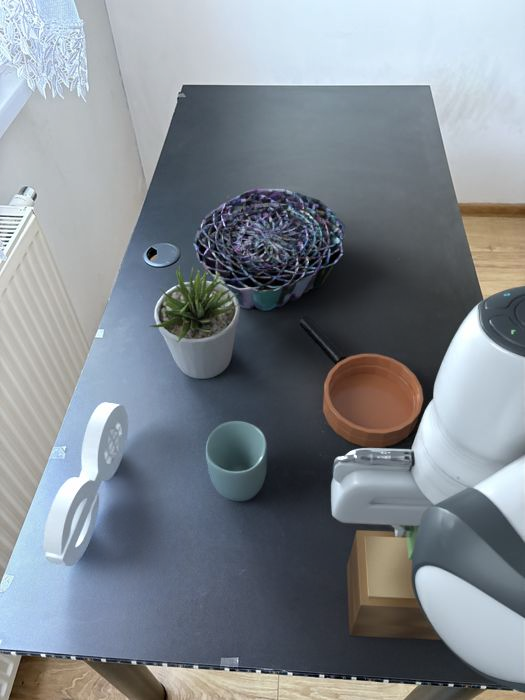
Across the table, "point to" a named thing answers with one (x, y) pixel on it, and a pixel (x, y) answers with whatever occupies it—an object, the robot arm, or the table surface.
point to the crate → (383, 589)
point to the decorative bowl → (270, 246)
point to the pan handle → (322, 340)
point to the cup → (237, 460)
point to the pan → (372, 400)
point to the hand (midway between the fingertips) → (433, 531)
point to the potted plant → (199, 325)
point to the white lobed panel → (86, 486)
